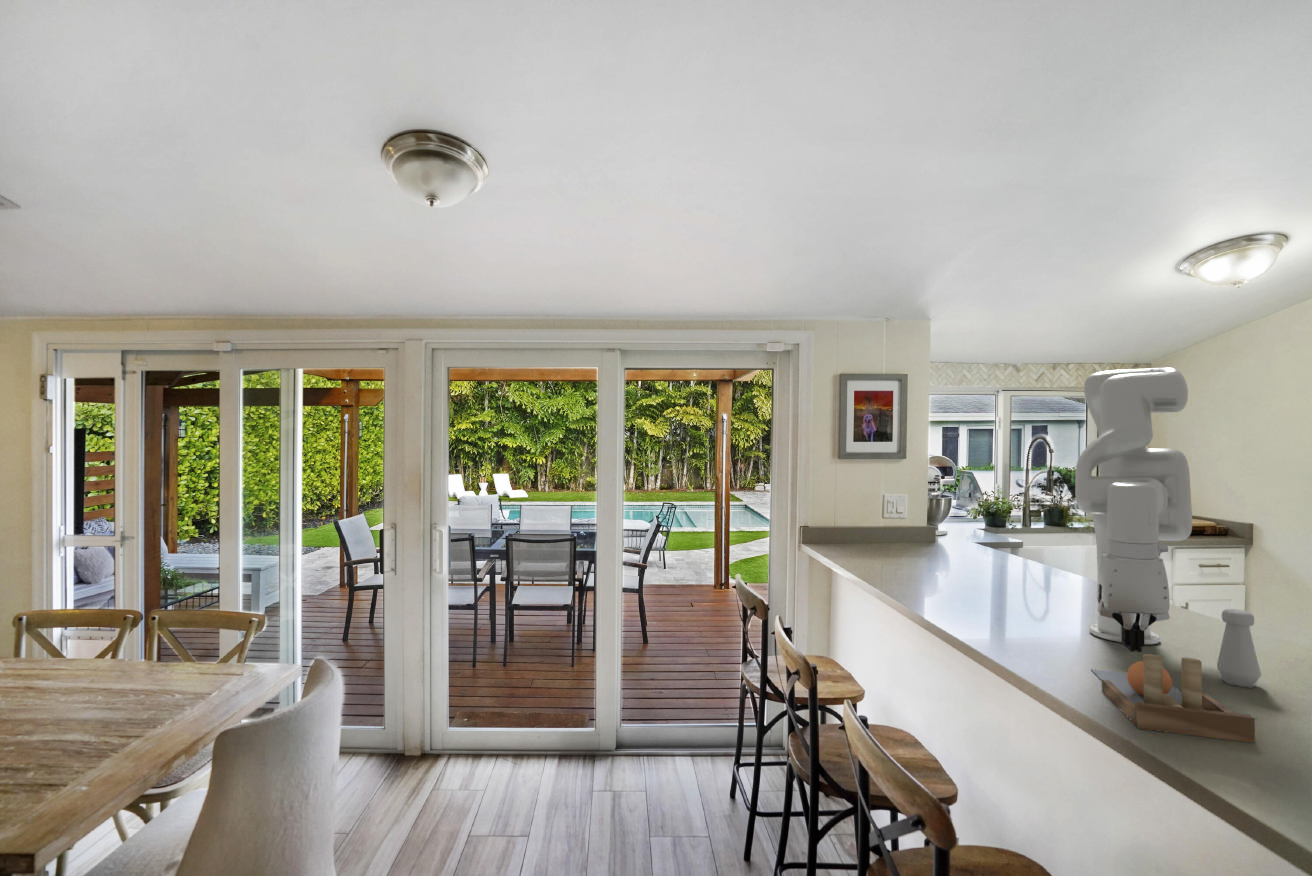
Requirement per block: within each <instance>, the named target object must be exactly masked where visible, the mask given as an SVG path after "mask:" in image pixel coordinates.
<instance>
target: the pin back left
mask: <svg viewBox="0 0 1312 876" xmlns="http://www.w3.org/2000/svg"><path fill="white" fill-rule="evenodd" d="M1180 661H1181V666H1180V667H1181V692H1182V707H1184V708H1192V709H1201V710H1202V709H1203V708H1202V691H1203V687H1202V686H1203V685H1202V679H1203V676H1202V673H1203V672H1202V660H1200V659H1197V658H1193V657H1181V659H1180Z"/></svg>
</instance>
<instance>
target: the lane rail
mask: <svg viewBox="0 0 1312 876" xmlns="http://www.w3.org/2000/svg"><path fill="white" fill-rule="evenodd" d="M1101 691H1102V692H1103V693H1104V694H1105V695H1106V696H1107V697H1108V698H1109V700H1111V701H1112V702H1114V703H1115V704H1116V705H1117V706H1118V707H1119V708H1120V709H1121V710H1122V711H1123V712H1124V713H1125V714H1126V715H1125V714H1124V713H1123V712H1122V711H1121V710H1120V709H1119V708H1118V707H1117V706H1116V705H1115V704H1114V703H1113V704H1114V705H1115V706H1116V707H1117V708H1118V709H1119V710H1120V711H1121V712H1122V713H1123V714H1124V715H1125V716H1126V717H1127V716H1128V717H1127V718H1128V720H1130V719H1131V720H1130V721H1131V722H1132V723H1133V725H1134V726H1135V725H1136V726H1137V727H1138V728H1139V730H1145V731H1146V730H1148V731H1154V730H1157V731H1156V732H1162V731H1167V732H1166V733H1171V732H1173V733H1172V734H1179V733H1181V735H1188V736H1189V735H1190V736H1196V737H1197V736H1198V737H1205V738H1211V739H1212V738H1213V739H1222V740H1227V741H1228V740H1229V741H1235V742H1236V741H1237V742H1246V743H1252V744H1256V736H1255V735H1256V730H1255V729H1256V726H1255V724H1256V722H1255V721H1256V718H1255V717H1254V716H1252V715H1251V714H1246V713H1244V714H1243V713H1236V712H1232V711H1231V710H1229V709H1228V708H1227V707H1225V706H1224V705H1223V704H1222V703H1220V702H1219V701H1217V699H1215V698H1214V697H1212V696H1211V695H1210V694H1209V693H1206V692H1205V691H1203V690H1202V709H1203V710H1201V709H1192V708H1183V707H1174V706H1165V705H1156V704H1147V703H1138V702H1135V705H1134V704H1133V703H1132V702H1131V701H1130V700H1129V699H1128V698H1127V697H1126V696H1125V695H1124V694H1123V693H1122V692H1121V691H1120V690H1119V689H1118V688H1117V687H1116V686H1115V685H1114V684H1113V683H1112V682H1111V681H1110V680H1107V679H1102V681H1101ZM1136 726H1135V727H1136ZM1137 727H1136V728H1137ZM1138 728H1137V729H1138ZM1158 730H1159V731H1158Z"/></svg>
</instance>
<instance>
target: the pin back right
mask: <svg viewBox="0 0 1312 876" xmlns="http://www.w3.org/2000/svg"><path fill="white" fill-rule="evenodd" d="M1142 661H1143V675H1144V703H1147V704H1156V705H1163V668H1164V667H1163V664H1164V663H1163V657H1162V656H1160V655H1157V654H1153V653H1152V654H1151V653H1144V654H1143V660H1142Z"/></svg>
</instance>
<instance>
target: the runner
mask: <svg viewBox="0 0 1312 876" xmlns="http://www.w3.org/2000/svg"><path fill="white" fill-rule="evenodd" d="M1090 671H1091V672H1092V673H1093V674H1094V676H1096V677H1097V678H1098V679H1099V680H1100V681H1101V682H1102V679H1107V680H1110V681H1111V682H1112V683H1113V684H1114V685H1115V686H1116V687H1117V688H1118V689H1119V690H1120V691H1121V692H1122V693H1123V694H1124V695H1125V696H1126V697H1127V698H1128V699H1129V700H1130V701H1131V702H1132V703H1133V704H1134V705H1135V702H1138V703H1144V696H1142V695H1140V694H1138V693H1137V692H1136V691H1134V690H1133V688H1132V687H1131V686H1130V684H1129V682H1128V679H1127V672H1123V671H1112V670H1103V669H1093V668H1092V669H1091V668H1090ZM1167 695H1169V696H1171V697H1172V698H1173V699H1174V700H1175V701H1177V702H1178V703H1179V704H1180V705H1181V706H1182V691H1180V690H1179V689H1178V688H1176V687H1175V686H1174V685H1173V684H1172V687H1171V690H1170V692H1169V693H1168V694H1167ZM1202 710H1204V708H1202Z"/></svg>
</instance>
